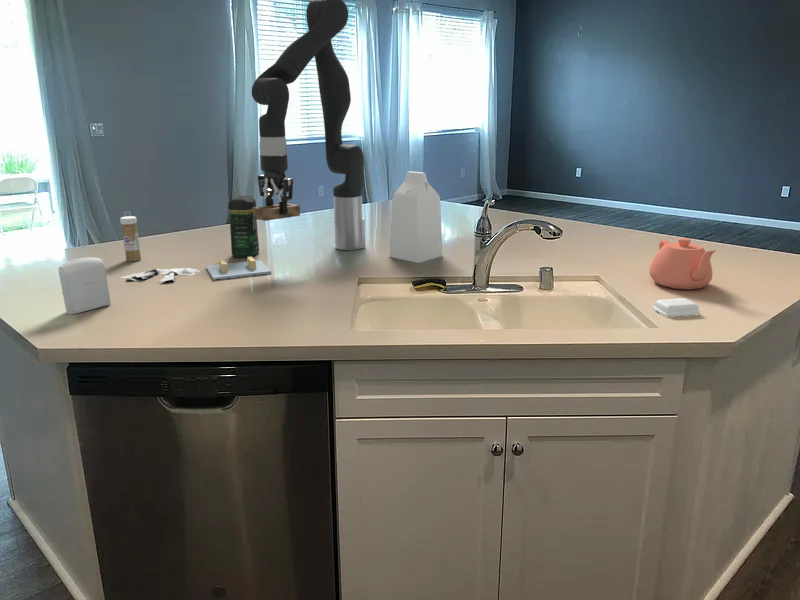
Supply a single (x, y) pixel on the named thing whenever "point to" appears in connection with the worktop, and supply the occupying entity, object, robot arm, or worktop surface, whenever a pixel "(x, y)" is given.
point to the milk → (416, 220)
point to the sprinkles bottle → (130, 238)
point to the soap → (676, 307)
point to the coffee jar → (243, 227)
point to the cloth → (167, 278)
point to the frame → (275, 212)
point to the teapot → (681, 265)
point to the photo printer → (84, 284)
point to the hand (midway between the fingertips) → (276, 213)
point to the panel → (237, 269)
